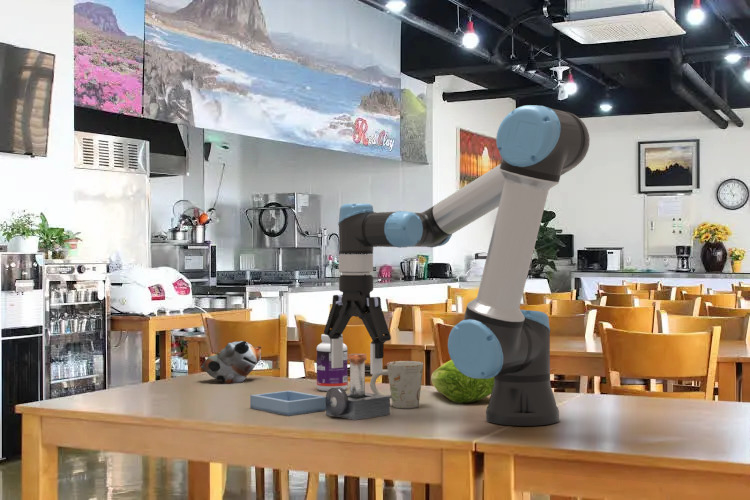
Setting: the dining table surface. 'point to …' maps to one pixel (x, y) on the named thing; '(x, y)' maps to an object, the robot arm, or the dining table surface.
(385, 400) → the block
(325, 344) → the pill bottle
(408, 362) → the mug
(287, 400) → the tray
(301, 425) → the dining table surface
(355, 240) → the robot arm
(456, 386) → the lettuce
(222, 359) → the lucky cat figurine
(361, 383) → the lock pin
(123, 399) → the dining table surface
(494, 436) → the dining table surface
